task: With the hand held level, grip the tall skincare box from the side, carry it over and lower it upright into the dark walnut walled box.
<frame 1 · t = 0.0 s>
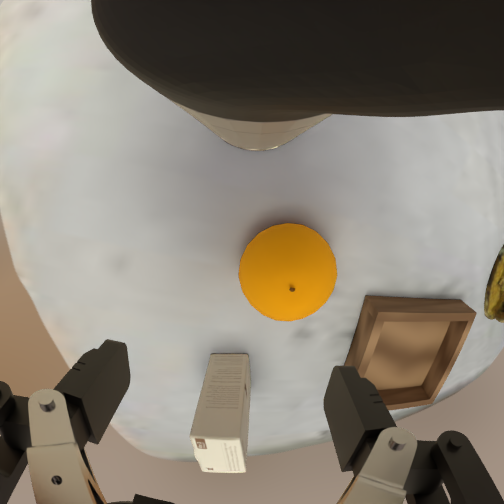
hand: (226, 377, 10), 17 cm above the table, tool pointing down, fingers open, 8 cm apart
skincare box: (230, 371, 31), on the table
walnut box: (400, 350, 30), on the table
orange: (283, 258, 27), on the table
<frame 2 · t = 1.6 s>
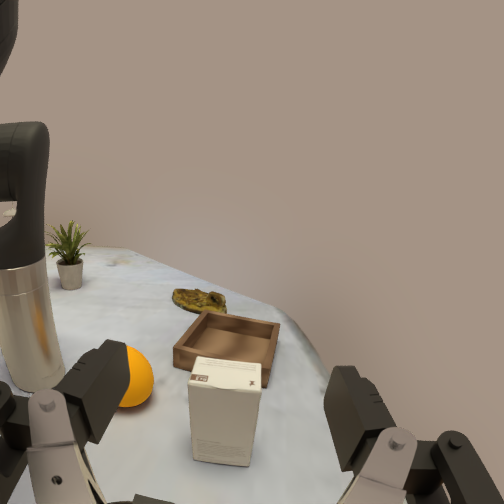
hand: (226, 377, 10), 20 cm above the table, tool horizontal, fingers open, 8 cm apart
skincare box: (221, 452, 26), on the table
walnut box: (230, 353, 45), on the table
orange: (126, 396, 32), on the table
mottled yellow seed: (198, 305, 63), on the table
house plant: (69, 285, 61), on the table
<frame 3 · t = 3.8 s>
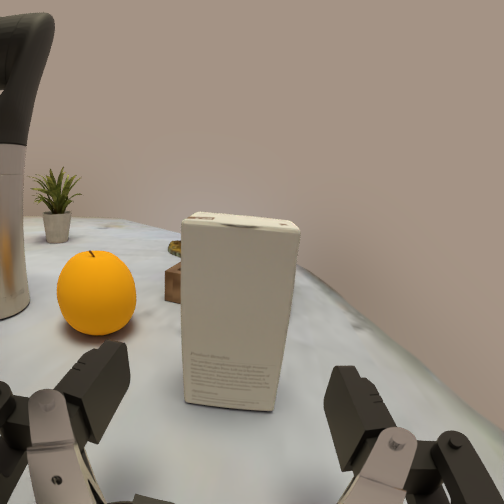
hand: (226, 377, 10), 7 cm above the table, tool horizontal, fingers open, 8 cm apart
skincare box: (228, 394, 19), on the table
walnut box: (235, 291, 39), on the table
orange: (99, 327, 25), on the table
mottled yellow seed: (197, 256, 56), on the table
house plant: (55, 240, 54), on the table
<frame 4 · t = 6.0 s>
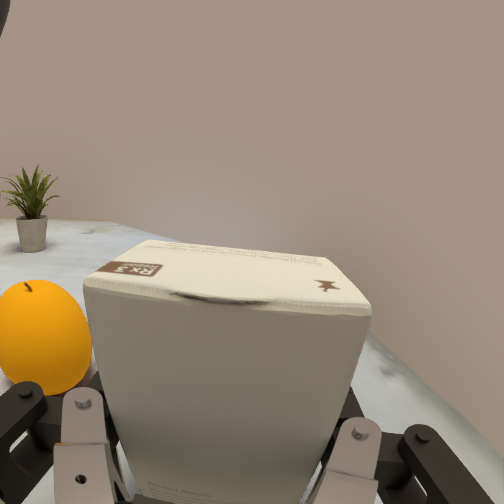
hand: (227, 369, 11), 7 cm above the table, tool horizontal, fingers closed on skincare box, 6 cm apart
skincare box: (216, 501, 10), on the table, touching gripper
orange: (51, 379, 16), on the table
house plant: (31, 248, 45), on the table
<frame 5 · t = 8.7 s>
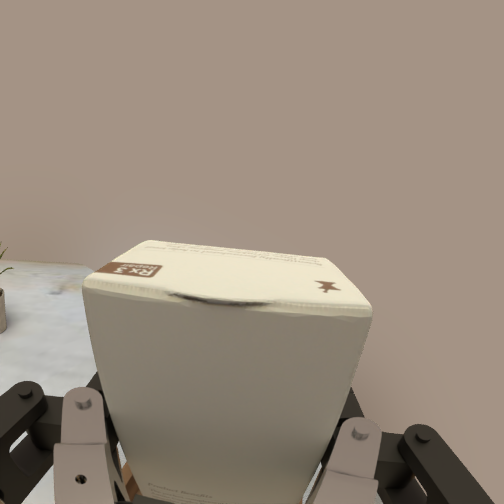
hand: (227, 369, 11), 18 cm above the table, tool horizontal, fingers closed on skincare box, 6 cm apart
skincare box: (216, 502, 10), point 11 cm above the table, touching gripper
walnut box: (215, 488, 19), on the table
when the fingers open (9 cm above the table, at t = 11.9 s): skincare box drops 1 cm, resting on walnut box.
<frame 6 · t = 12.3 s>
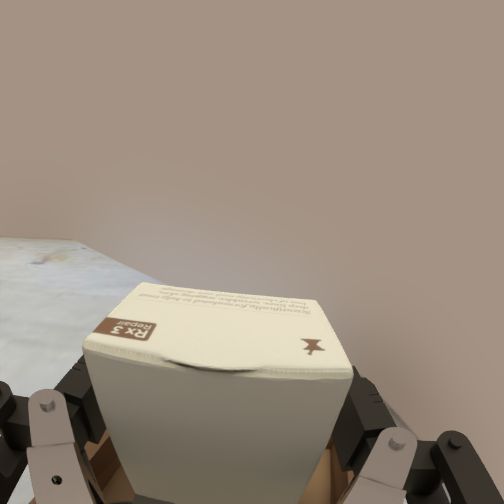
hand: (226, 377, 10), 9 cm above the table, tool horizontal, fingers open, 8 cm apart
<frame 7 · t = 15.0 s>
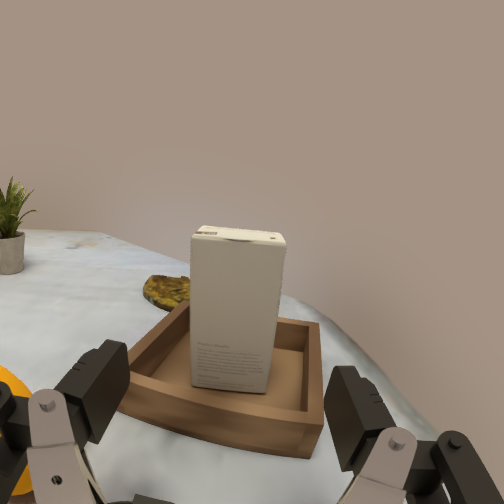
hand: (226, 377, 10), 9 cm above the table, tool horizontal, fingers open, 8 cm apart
skincare box: (228, 379, 22), resting on walnut box
walnut box: (229, 382, 23), on the table
orange: (15, 465, 9), on the table
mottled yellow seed: (181, 301, 39), on the table
house plant: (9, 269, 38), on the table
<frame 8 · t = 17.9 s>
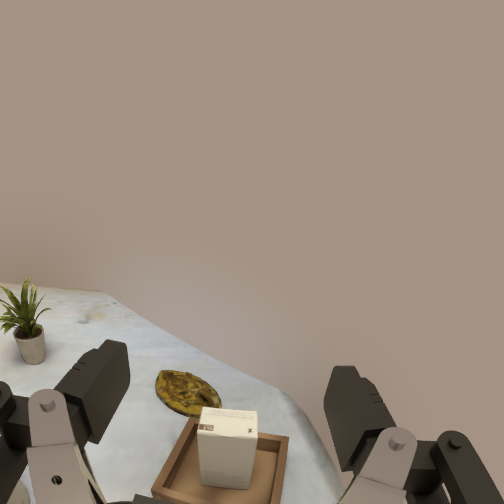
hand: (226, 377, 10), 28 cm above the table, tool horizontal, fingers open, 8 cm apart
skincare box: (224, 478, 28), resting on walnut box
walnut box: (225, 478, 28), on the table
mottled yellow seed: (187, 397, 45), on the table
house plant: (32, 355, 44), on the table
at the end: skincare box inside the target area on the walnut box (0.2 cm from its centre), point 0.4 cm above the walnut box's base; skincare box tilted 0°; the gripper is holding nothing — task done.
